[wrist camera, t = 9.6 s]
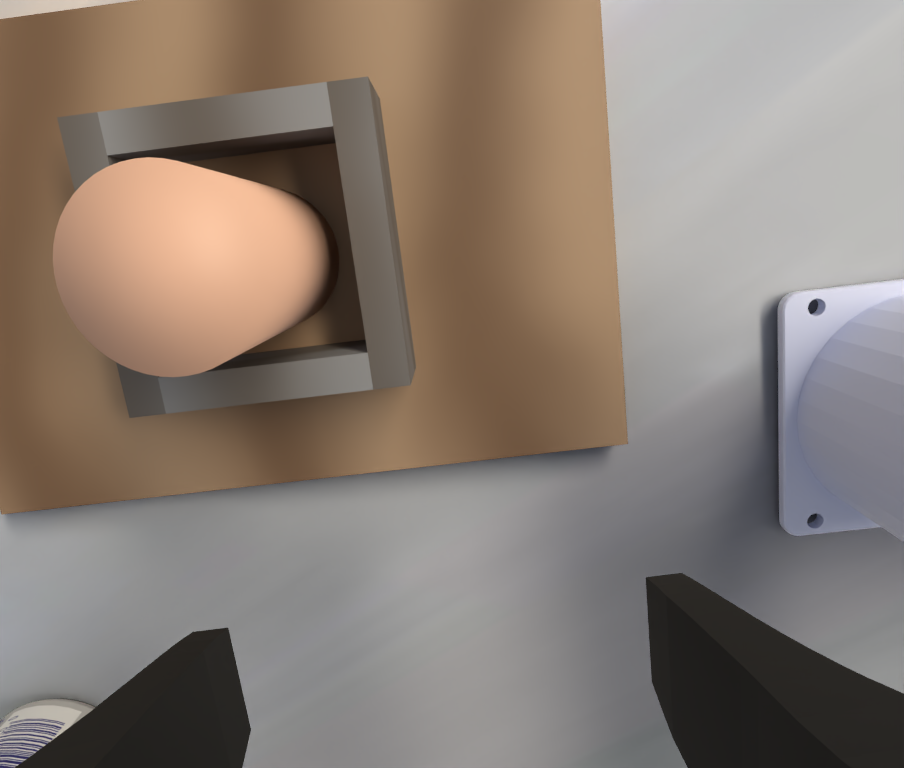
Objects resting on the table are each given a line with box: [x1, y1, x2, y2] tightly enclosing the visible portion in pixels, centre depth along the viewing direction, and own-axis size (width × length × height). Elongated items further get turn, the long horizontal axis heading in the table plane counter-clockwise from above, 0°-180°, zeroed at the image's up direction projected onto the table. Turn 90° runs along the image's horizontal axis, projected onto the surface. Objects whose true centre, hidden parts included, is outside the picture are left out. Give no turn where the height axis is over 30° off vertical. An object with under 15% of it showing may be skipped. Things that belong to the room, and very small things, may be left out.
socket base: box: [0, 0, 628, 514], centre depth 18 cm, size 20×14×4 cm
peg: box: [53, 157, 339, 377], centre depth 15 cm, size 4×4×7 cm
